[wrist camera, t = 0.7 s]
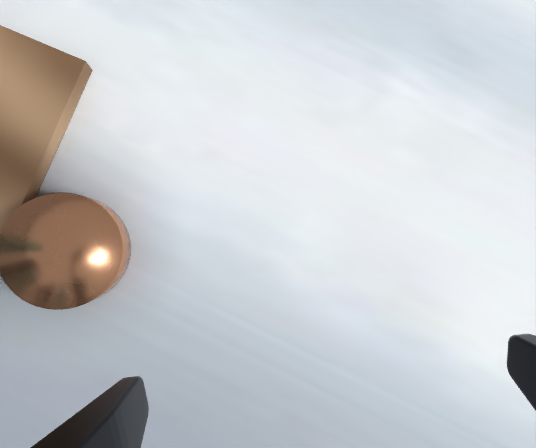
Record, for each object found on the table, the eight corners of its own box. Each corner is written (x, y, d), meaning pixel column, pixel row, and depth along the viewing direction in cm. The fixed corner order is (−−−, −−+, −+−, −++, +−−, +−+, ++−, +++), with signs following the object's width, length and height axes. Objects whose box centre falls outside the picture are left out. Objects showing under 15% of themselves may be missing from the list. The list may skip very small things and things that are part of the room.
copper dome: (108, 316, 19) (95, 325, 17) (1, 281, 19) (-25, 286, 17) (147, 219, 20) (139, 217, 18) (45, 181, 19) (26, 175, 17)
